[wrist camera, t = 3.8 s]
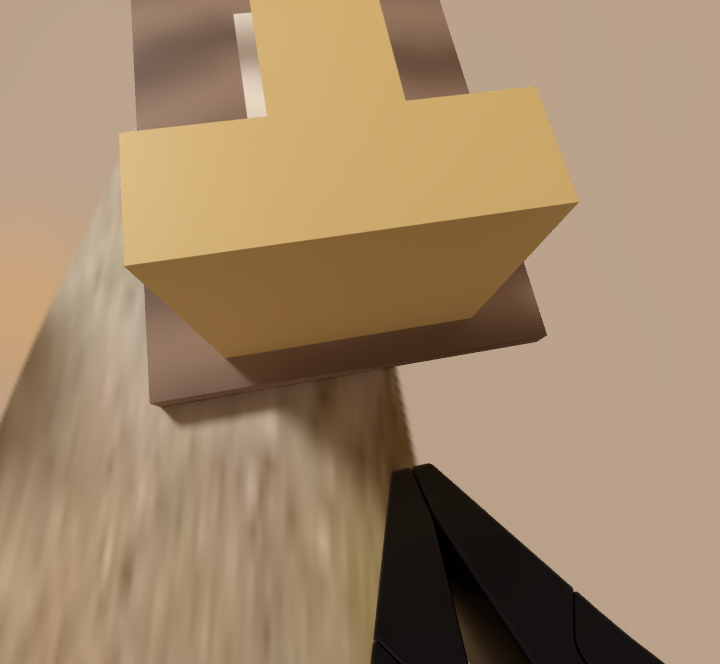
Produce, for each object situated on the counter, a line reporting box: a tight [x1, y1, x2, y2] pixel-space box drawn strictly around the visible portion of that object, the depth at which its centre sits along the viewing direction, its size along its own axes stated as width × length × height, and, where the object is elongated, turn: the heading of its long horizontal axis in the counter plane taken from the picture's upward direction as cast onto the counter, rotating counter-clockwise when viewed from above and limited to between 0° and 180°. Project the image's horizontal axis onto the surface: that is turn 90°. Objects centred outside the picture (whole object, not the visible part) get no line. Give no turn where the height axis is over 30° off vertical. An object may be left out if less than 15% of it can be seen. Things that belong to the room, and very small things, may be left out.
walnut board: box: [131, 0, 547, 407], centre depth 24 cm, size 25×19×1 cm
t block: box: [119, 0, 579, 358], centre depth 18 cm, size 12×12×10 cm
